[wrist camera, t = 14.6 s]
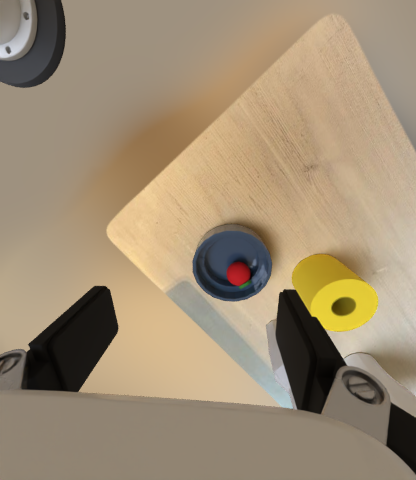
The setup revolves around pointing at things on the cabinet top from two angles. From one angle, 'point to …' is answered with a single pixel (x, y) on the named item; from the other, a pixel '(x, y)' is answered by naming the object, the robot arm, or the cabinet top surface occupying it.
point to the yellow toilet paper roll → (334, 293)
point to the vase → (384, 381)
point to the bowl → (231, 261)
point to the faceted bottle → (278, 360)
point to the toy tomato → (239, 274)
